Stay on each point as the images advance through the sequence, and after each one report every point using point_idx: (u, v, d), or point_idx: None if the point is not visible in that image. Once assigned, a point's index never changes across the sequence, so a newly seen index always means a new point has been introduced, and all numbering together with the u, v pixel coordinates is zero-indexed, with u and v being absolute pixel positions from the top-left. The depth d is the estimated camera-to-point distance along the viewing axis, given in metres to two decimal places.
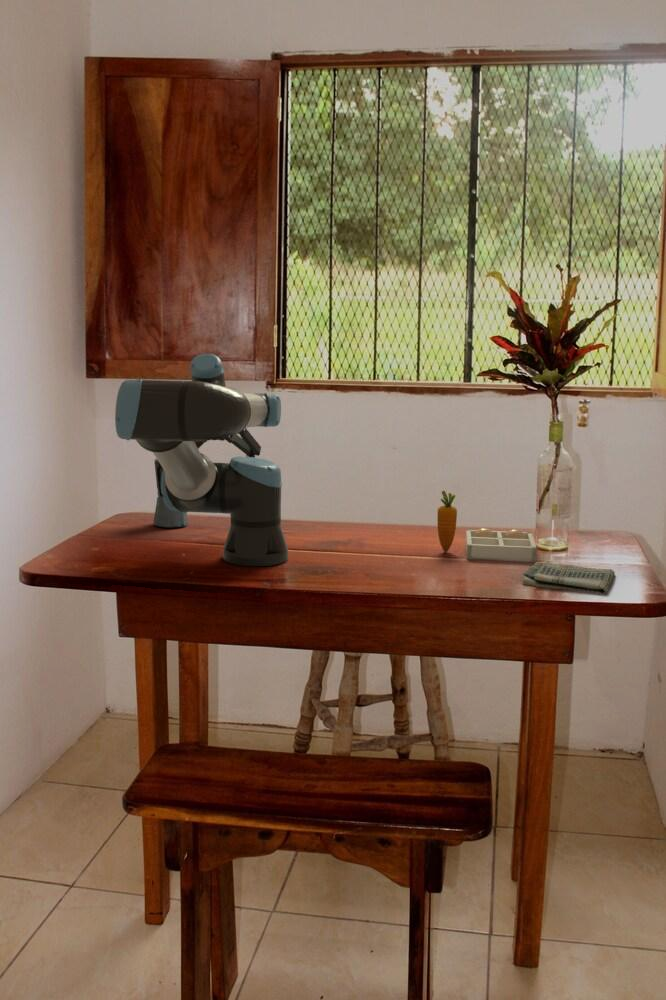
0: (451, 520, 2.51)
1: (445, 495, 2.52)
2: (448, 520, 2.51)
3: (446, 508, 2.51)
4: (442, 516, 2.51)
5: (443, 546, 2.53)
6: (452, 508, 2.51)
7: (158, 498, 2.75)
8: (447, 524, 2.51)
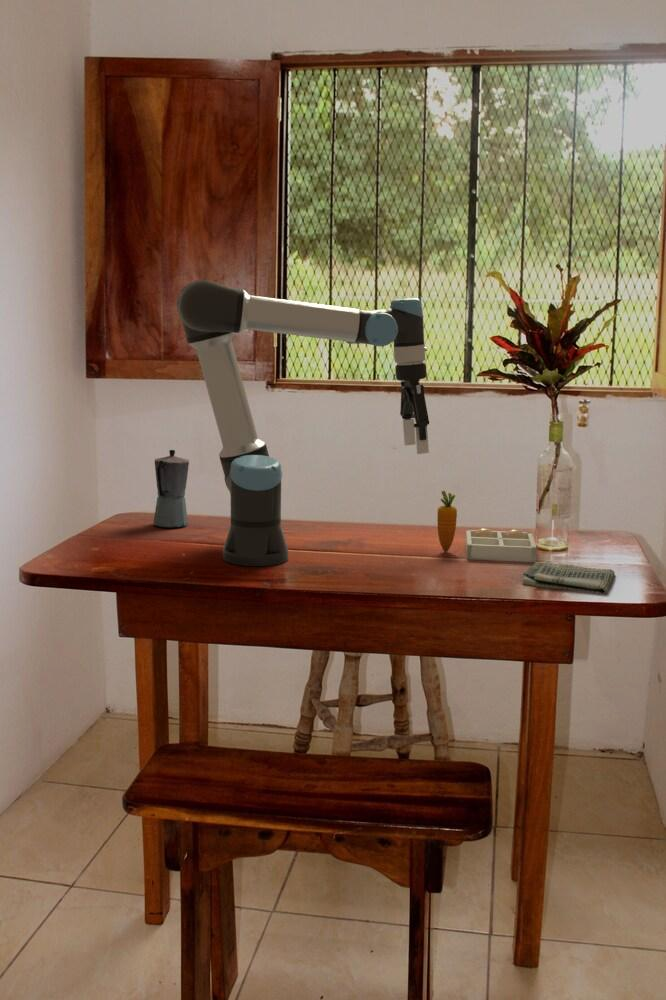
0: (451, 520, 2.51)
1: (445, 495, 2.52)
2: (448, 520, 2.51)
3: (446, 508, 2.51)
4: (442, 516, 2.51)
5: (443, 546, 2.53)
6: (452, 508, 2.51)
7: (158, 498, 2.75)
8: (447, 524, 2.51)
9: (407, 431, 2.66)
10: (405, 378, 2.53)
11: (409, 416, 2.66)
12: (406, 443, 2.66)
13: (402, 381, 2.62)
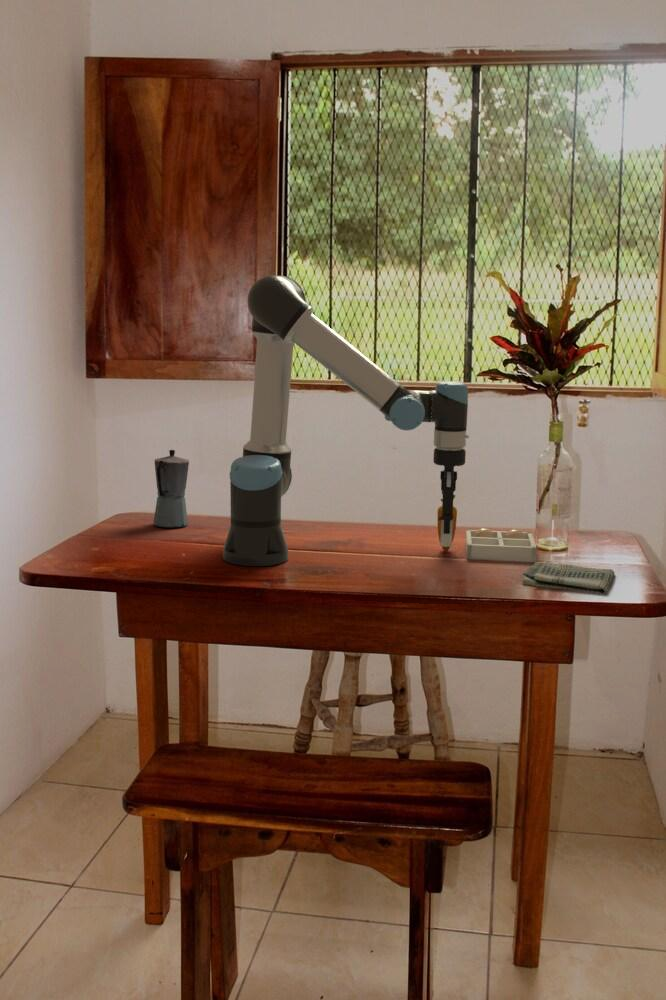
0: None
1: None
2: None
3: None
4: None
5: (443, 546, 2.53)
6: None
7: (158, 498, 2.75)
8: None
9: None
10: (440, 463, 2.47)
11: None
12: None
13: None
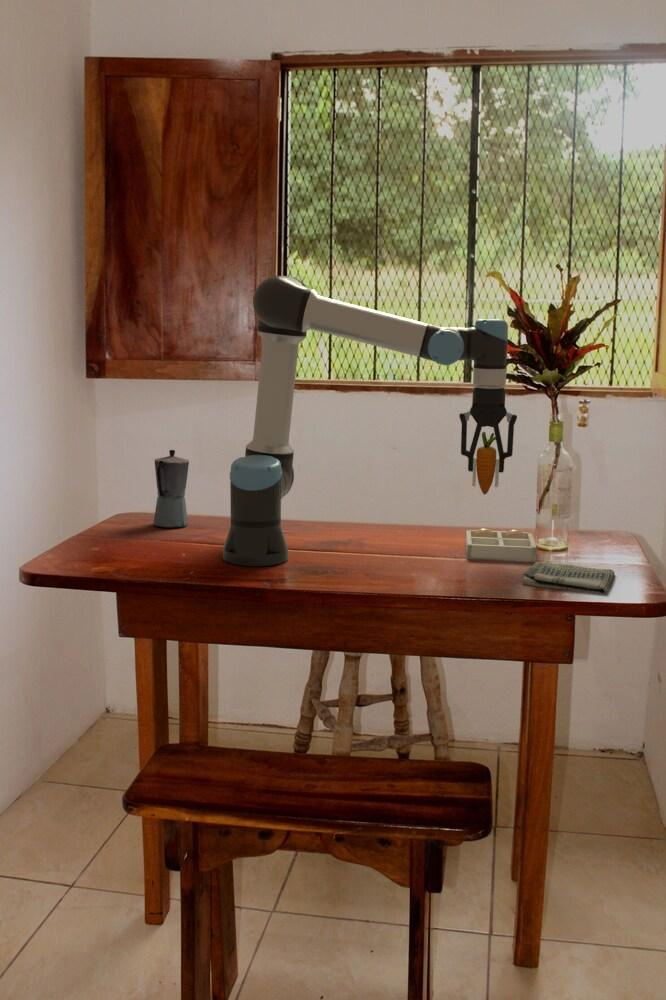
0: None
1: None
2: None
3: (493, 448, 2.47)
4: (495, 456, 2.46)
5: (489, 488, 2.48)
6: None
7: (158, 498, 2.75)
8: None
9: None
10: (502, 402, 2.42)
11: None
12: (475, 483, 2.48)
13: (462, 413, 2.45)
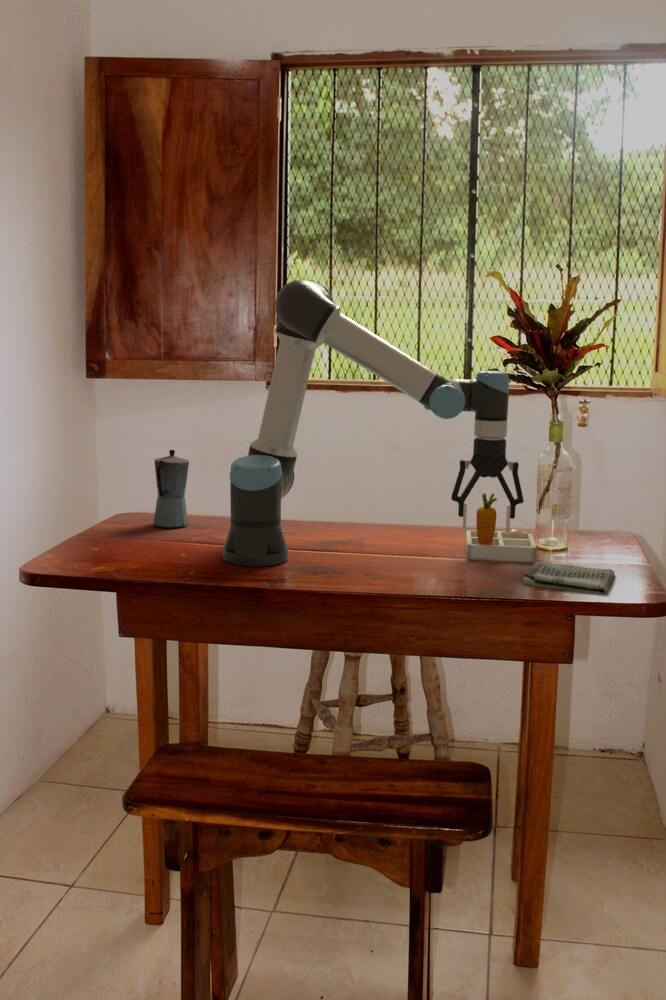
0: None
1: None
2: None
3: (493, 509, 2.49)
4: (495, 517, 2.48)
5: None
6: None
7: (158, 498, 2.75)
8: None
9: None
10: (503, 453, 2.45)
11: None
12: (465, 528, 2.50)
13: (463, 460, 2.47)
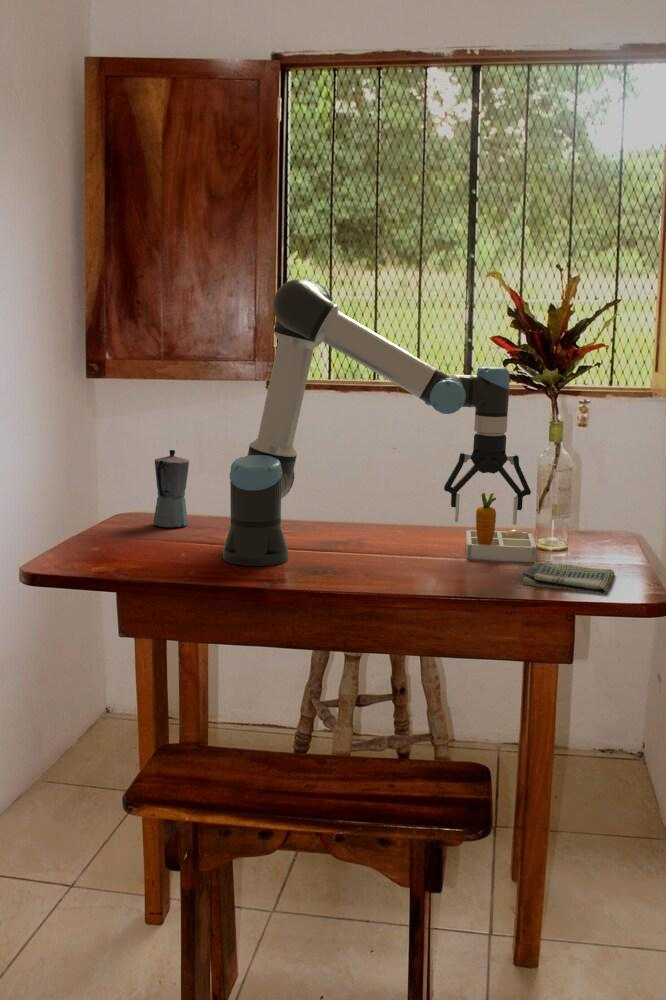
0: None
1: None
2: None
3: (493, 508, 2.49)
4: (494, 517, 2.48)
5: None
6: None
7: (158, 498, 2.75)
8: None
9: (458, 506, 2.50)
10: (503, 449, 2.44)
11: None
12: None
13: (464, 453, 2.47)
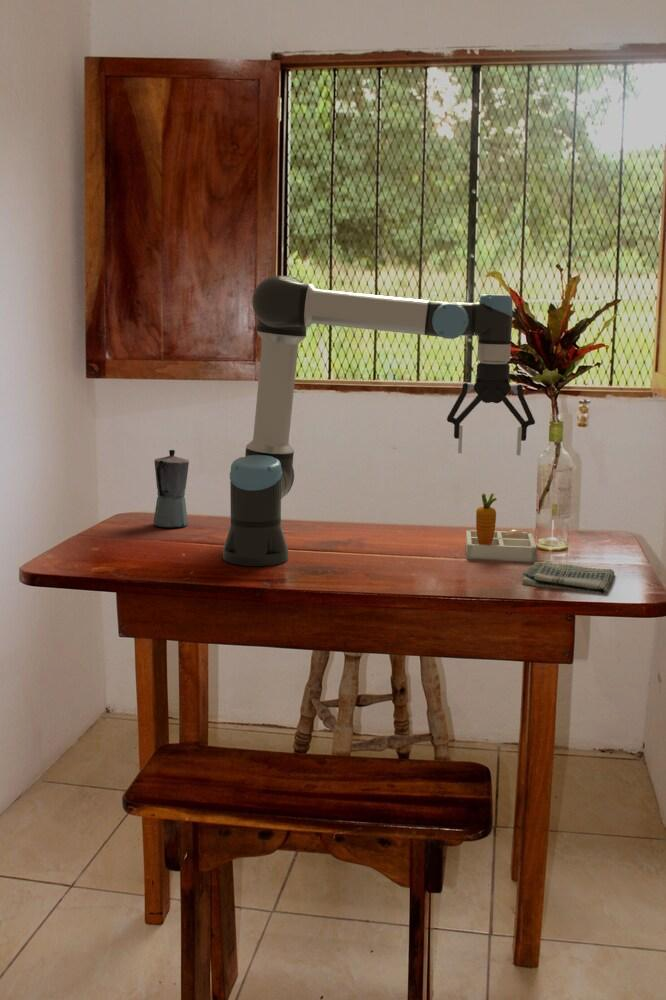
0: None
1: None
2: None
3: (493, 508, 2.49)
4: (494, 517, 2.48)
5: None
6: None
7: (158, 498, 2.75)
8: None
9: None
10: (506, 377, 2.41)
11: None
12: (461, 451, 2.47)
13: (467, 383, 2.43)
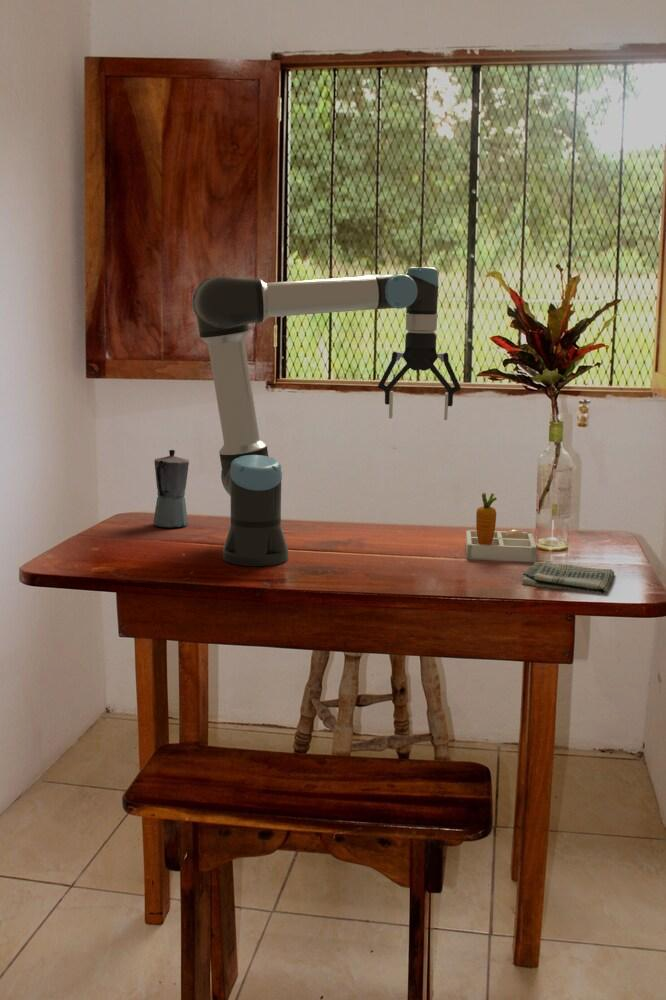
0: None
1: None
2: None
3: (493, 508, 2.49)
4: (495, 517, 2.48)
5: None
6: None
7: (158, 498, 2.75)
8: None
9: (392, 403, 2.60)
10: (432, 346, 2.55)
11: None
12: (392, 416, 2.61)
13: (396, 352, 2.57)
